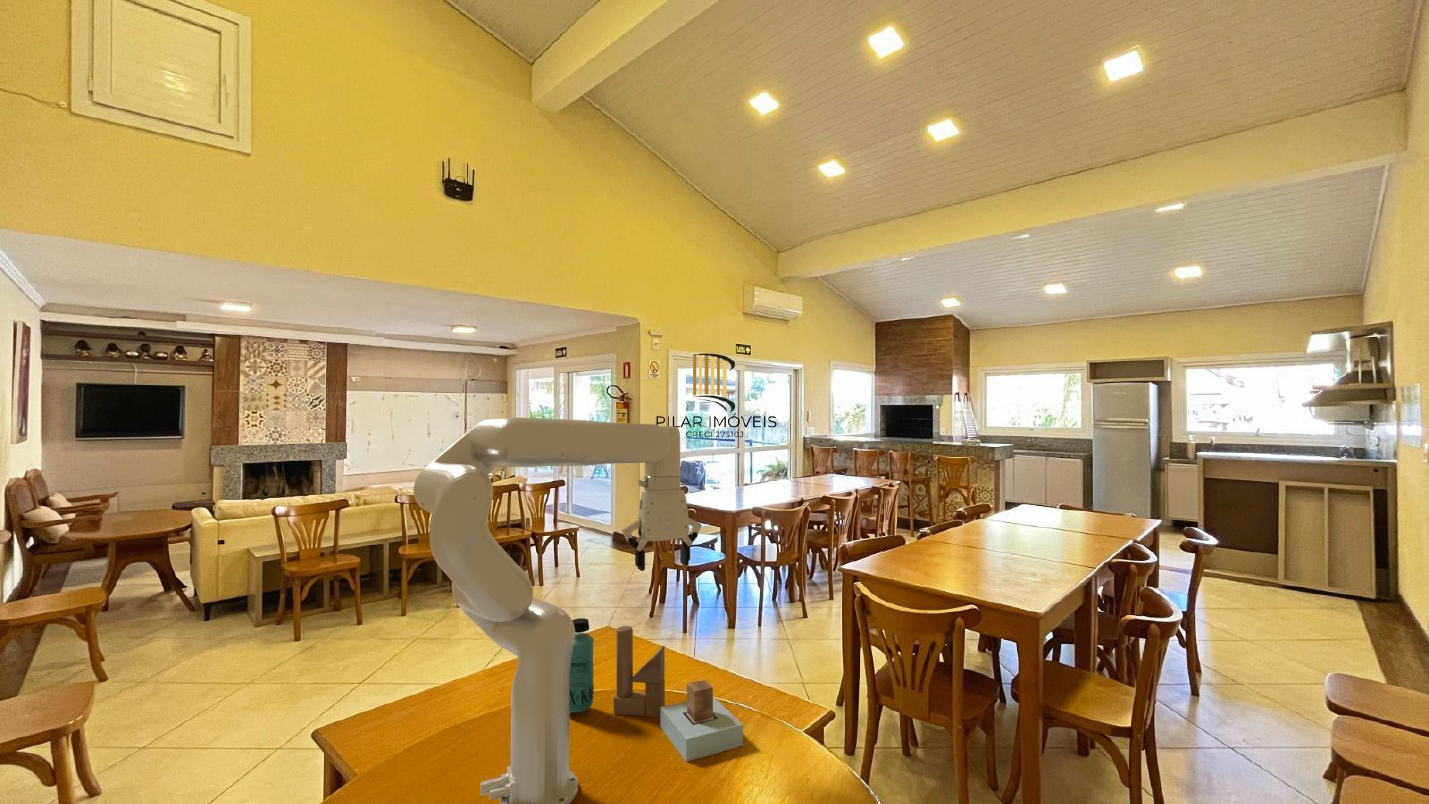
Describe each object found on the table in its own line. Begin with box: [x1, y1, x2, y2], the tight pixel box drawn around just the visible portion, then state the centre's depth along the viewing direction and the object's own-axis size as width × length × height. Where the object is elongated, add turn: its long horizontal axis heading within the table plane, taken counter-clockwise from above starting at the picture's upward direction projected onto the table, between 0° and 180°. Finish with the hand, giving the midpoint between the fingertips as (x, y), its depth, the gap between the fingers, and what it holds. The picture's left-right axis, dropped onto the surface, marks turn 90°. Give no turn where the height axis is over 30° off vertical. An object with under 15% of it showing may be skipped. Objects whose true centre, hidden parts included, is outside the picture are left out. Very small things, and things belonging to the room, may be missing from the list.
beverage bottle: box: [569, 617, 595, 713], centre depth 123 cm, size 6×7×20 cm
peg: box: [686, 679, 714, 725], centre depth 113 cm, size 4×4×10 cm
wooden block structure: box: [613, 625, 666, 719], centre depth 123 cm, size 4×11×18 cm, turn 81°
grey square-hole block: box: [659, 696, 744, 762], centre depth 113 cm, size 12×14×4 cm
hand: (663, 566), depth 117 cm, fingers open, 9 cm apart
